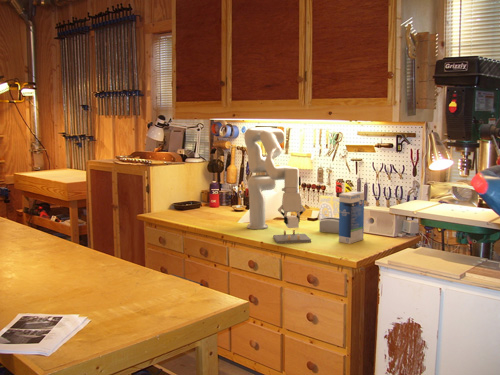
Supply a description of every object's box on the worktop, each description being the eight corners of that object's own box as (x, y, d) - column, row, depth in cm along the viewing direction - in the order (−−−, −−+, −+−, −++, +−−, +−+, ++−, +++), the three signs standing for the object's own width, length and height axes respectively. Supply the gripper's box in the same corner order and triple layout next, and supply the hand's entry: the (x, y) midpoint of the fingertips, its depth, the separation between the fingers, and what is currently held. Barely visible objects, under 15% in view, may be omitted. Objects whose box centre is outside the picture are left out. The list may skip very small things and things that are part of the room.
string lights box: (352, 237, 280) (353, 190, 276) (364, 239, 274) (365, 192, 271) (338, 241, 270) (338, 193, 267) (350, 244, 265) (351, 195, 262)
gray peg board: (273, 237, 282) (273, 230, 281) (305, 236, 284) (305, 229, 283) (277, 243, 268) (277, 236, 267) (310, 242, 270) (310, 234, 269)
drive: (298, 227, 270) (298, 218, 269) (288, 228, 269) (288, 218, 269) (295, 224, 279) (295, 215, 278) (285, 224, 278) (285, 215, 278)
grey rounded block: (349, 232, 293) (348, 217, 289) (347, 236, 289) (345, 221, 285) (322, 229, 301) (320, 214, 297) (319, 233, 297) (317, 218, 293)
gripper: (276, 191, 267) (277, 225, 270) (309, 190, 269) (309, 224, 272) (274, 189, 275) (274, 222, 277) (305, 188, 277) (305, 221, 279)
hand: (291, 223), depth 274 cm, fingers closed on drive, 5 cm apart
